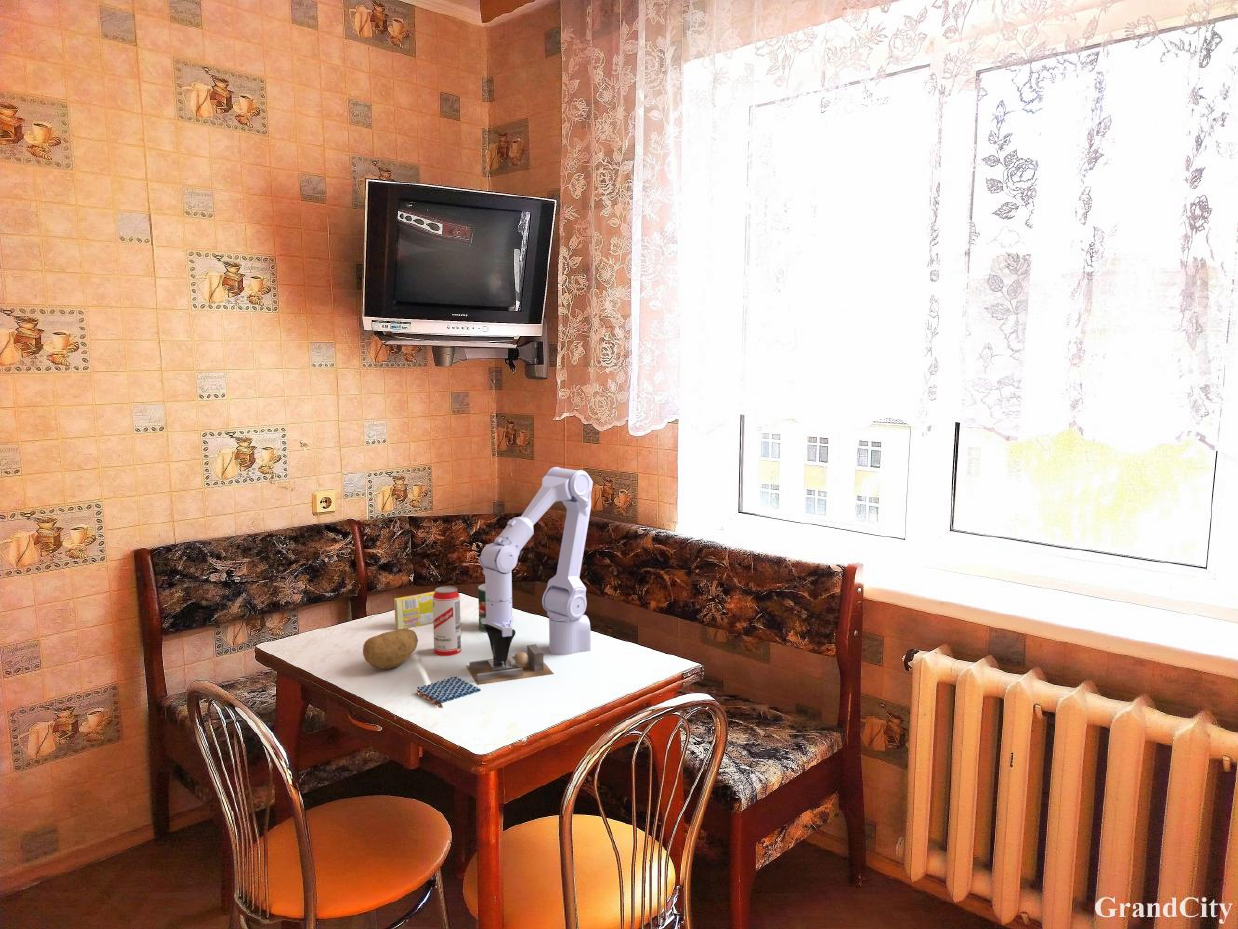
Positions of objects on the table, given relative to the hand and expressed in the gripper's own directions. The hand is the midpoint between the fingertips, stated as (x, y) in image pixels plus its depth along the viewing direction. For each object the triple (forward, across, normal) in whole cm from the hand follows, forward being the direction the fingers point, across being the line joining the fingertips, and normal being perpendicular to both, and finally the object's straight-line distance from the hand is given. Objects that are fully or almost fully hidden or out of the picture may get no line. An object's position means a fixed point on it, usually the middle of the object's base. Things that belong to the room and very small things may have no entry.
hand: (499, 658), depth 188 cm
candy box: (+4, -43, -10) cm, 44 cm away
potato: (+4, -15, -21) cm, 26 cm away
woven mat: (+5, +6, -13) cm, 15 cm away
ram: (+3, 0, 0) cm, 3 cm away
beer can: (+4, -17, -8) cm, 19 cm away
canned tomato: (+4, -33, +6) cm, 34 cm away
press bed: (+4, 0, +2) cm, 4 cm away
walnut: (+3, 0, +5) cm, 6 cm away
